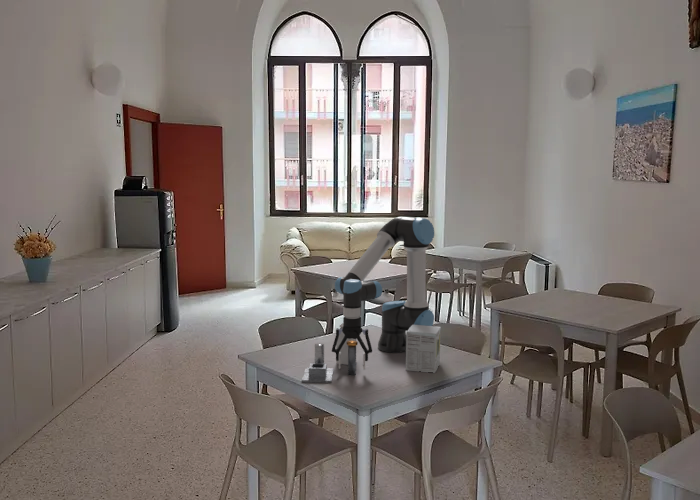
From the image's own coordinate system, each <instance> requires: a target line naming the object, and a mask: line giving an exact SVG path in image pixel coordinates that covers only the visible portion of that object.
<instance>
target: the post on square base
mask: <svg viewBox="0 0 700 500" xmlns="http://www.w3.org/2000/svg"><path fill="white" fill-rule="evenodd" d="M333 375H334V367H331V368H330V367H328V363H327V362H326V363H325V343H321V342H319V343H318V342H317V343H314V362H310V363H309V367H305V370H304V372H303V376H302V378H301V383H307V384H308V383H311V384H312V383H314V384H317V383H318V384H332V381H333Z"/></svg>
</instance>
